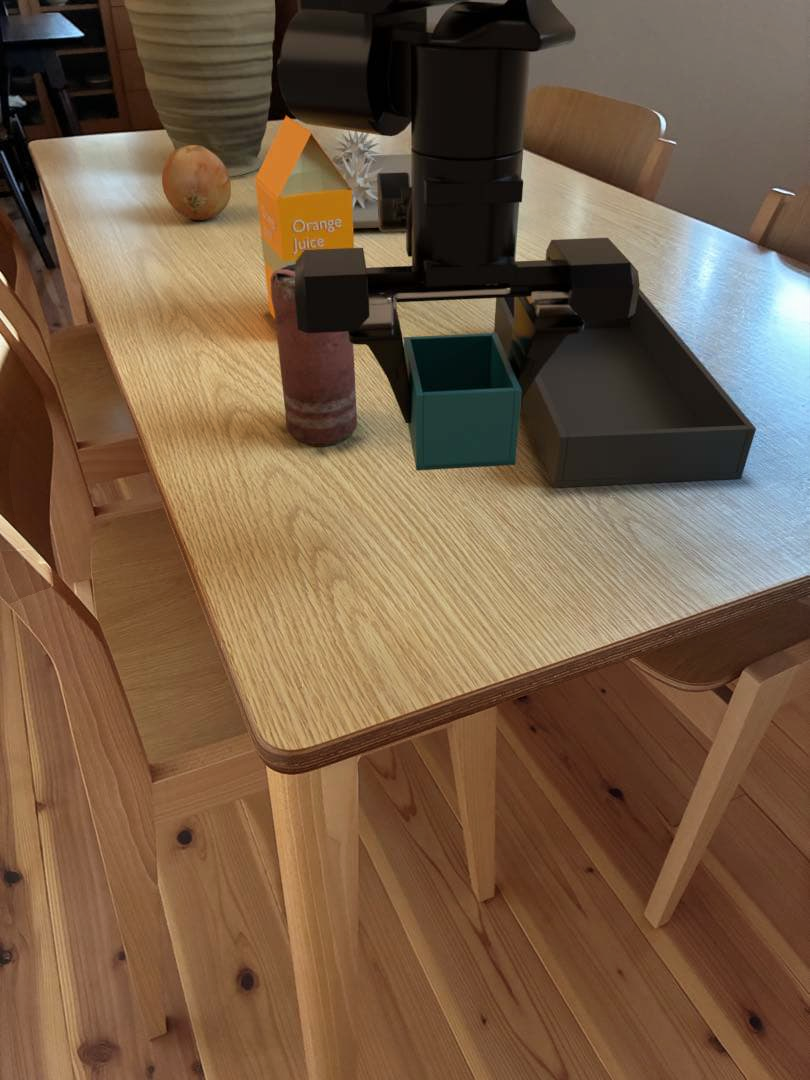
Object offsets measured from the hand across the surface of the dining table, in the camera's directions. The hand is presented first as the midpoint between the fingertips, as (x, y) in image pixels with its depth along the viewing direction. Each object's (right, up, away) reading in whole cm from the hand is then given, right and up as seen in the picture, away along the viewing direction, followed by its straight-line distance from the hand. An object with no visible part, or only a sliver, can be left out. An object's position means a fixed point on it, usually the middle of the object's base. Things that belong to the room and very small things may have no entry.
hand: (458, 417), depth 51 cm
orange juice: (-14, +16, +39) cm, 45 cm away
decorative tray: (-3, +46, +77) cm, 90 cm away
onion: (-34, +40, +70) cm, 87 cm away
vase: (-36, +59, +94) cm, 117 cm away
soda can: (-11, +2, +20) cm, 23 cm away
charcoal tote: (+15, +6, +25) cm, 29 cm away
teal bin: (0, -1, +1) cm, 1 cm away
